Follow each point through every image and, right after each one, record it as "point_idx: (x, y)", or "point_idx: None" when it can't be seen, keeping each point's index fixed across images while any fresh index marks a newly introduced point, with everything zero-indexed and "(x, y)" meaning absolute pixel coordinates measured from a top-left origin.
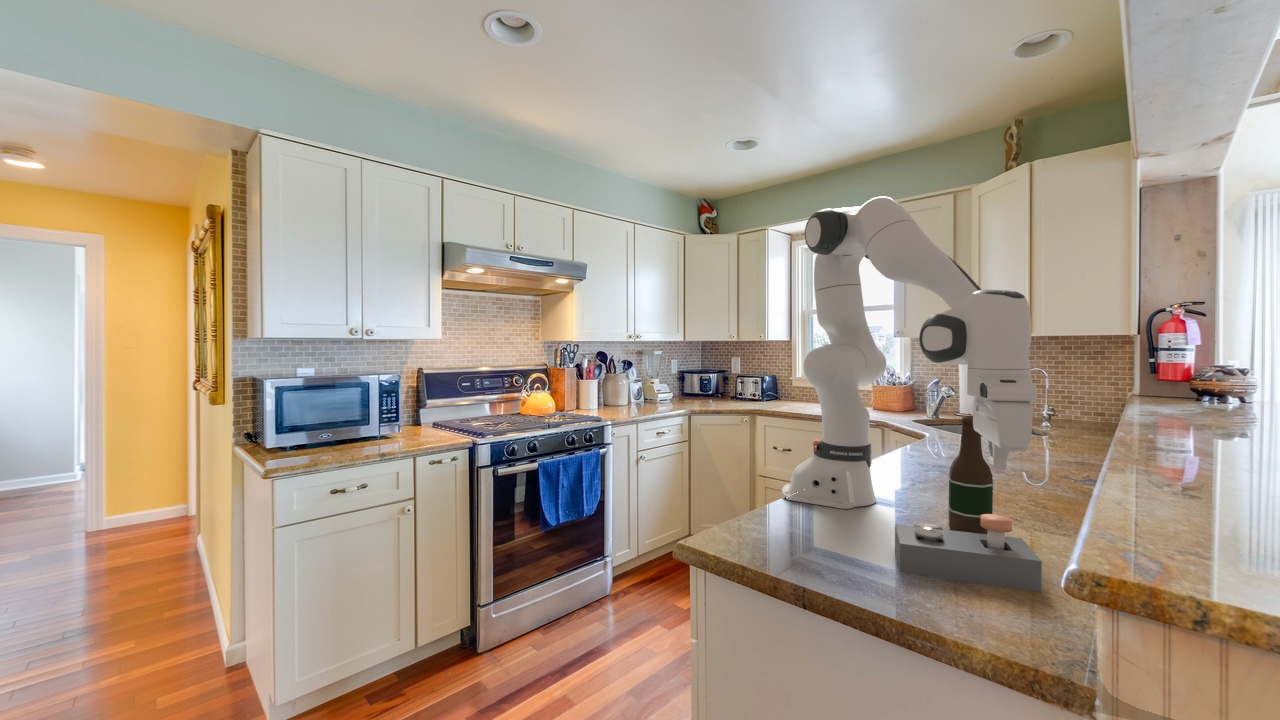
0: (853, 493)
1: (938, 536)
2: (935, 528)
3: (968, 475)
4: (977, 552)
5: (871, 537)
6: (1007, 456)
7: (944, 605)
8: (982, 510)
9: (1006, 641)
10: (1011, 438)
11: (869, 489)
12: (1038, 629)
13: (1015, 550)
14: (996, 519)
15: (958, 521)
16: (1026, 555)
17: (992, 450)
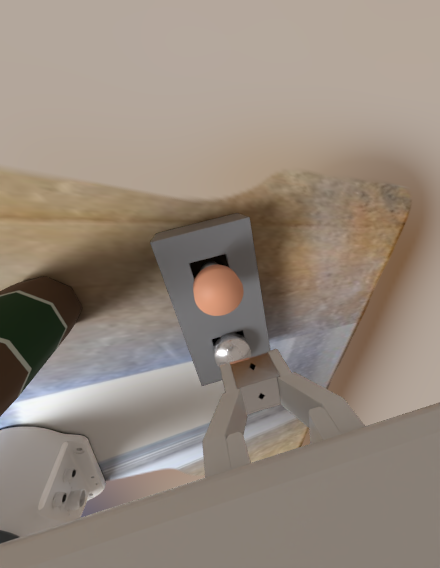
0: (56, 457)
1: (245, 340)
2: (231, 349)
3: (6, 386)
4: (258, 293)
5: (173, 386)
6: (306, 378)
7: (317, 296)
8: (44, 310)
9: (366, 245)
10: None
11: (12, 454)
12: (334, 219)
13: (221, 250)
14: (227, 293)
15: (69, 328)
16: (234, 236)
17: (242, 430)
